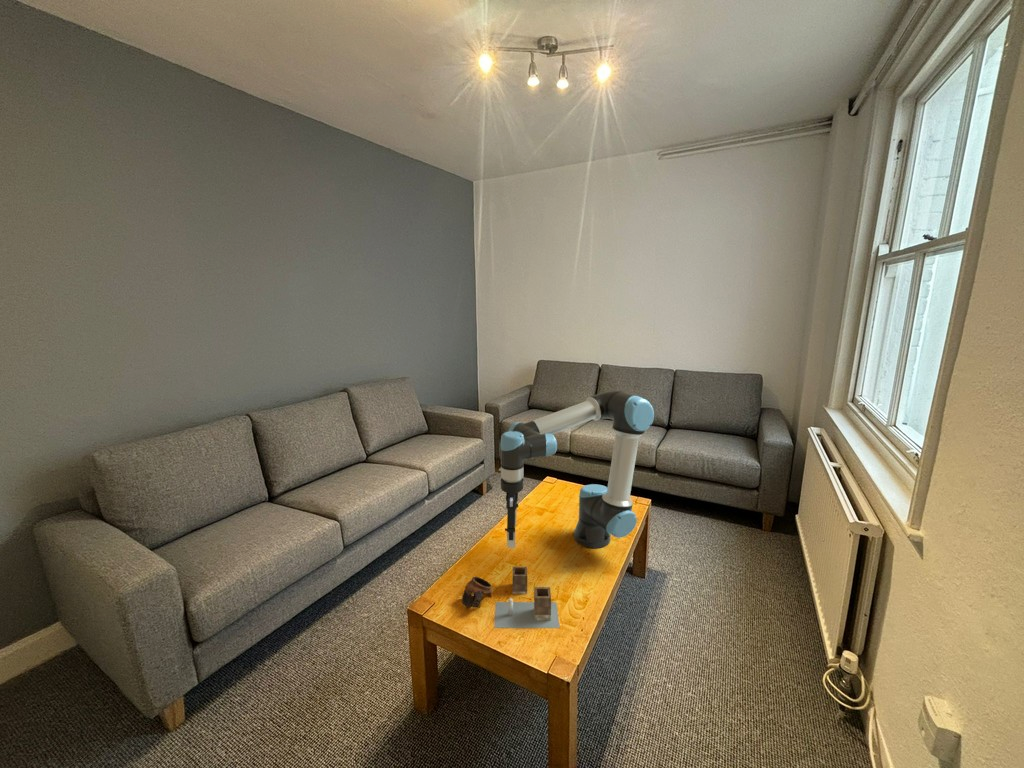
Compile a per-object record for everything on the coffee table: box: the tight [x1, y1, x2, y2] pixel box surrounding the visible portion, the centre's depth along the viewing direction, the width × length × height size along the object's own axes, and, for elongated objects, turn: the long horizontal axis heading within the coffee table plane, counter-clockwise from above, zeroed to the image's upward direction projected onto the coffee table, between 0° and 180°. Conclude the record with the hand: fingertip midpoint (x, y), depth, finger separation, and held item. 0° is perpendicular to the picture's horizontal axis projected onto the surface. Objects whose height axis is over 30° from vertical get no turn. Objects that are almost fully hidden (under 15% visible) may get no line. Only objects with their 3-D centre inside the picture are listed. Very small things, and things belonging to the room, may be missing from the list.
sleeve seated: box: [533, 586, 552, 621], centre depth 132 cm, size 5×5×8 cm
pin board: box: [493, 597, 561, 629], centre depth 132 cm, size 20×11×7 cm, turn 90°
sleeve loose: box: [512, 566, 528, 595], centre depth 144 cm, size 5×5×8 cm
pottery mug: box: [461, 576, 492, 610], centre depth 139 cm, size 12×10×8 cm
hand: (511, 535), depth 143 cm, fingers open, 13 cm apart
